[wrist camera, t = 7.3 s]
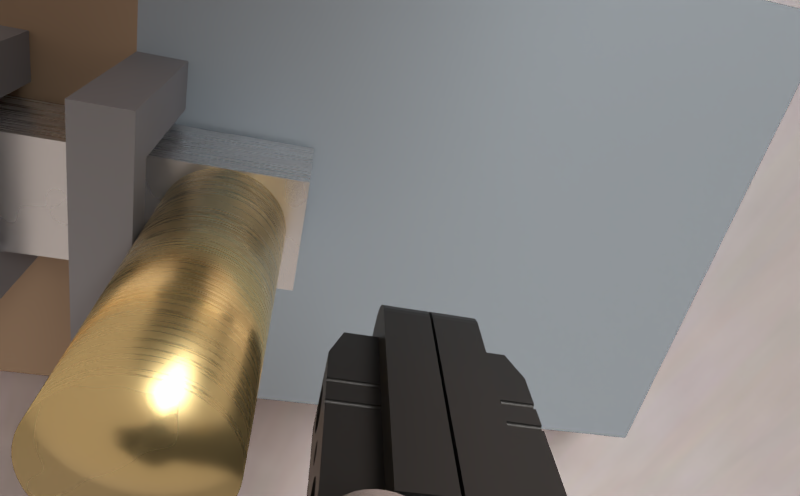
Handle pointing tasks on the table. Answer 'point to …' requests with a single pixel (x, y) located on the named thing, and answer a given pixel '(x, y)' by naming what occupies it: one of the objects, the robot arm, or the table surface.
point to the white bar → (157, 310)
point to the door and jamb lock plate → (424, 166)
